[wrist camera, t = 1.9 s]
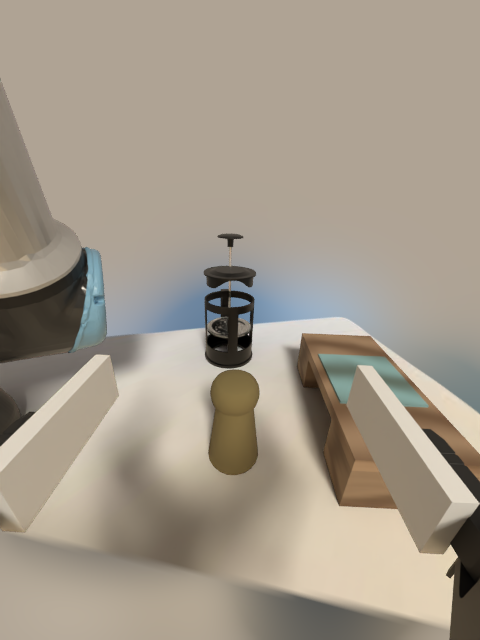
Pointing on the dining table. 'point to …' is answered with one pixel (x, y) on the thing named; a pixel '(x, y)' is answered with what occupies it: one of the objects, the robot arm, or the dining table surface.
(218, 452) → the cork
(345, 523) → the dining table surface
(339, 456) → the wooden block
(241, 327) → the french press
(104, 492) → the dining table surface
